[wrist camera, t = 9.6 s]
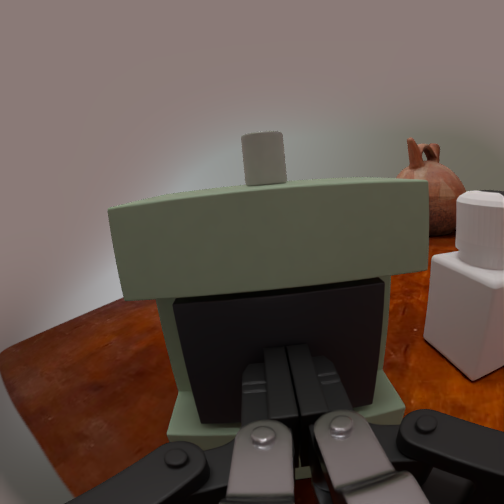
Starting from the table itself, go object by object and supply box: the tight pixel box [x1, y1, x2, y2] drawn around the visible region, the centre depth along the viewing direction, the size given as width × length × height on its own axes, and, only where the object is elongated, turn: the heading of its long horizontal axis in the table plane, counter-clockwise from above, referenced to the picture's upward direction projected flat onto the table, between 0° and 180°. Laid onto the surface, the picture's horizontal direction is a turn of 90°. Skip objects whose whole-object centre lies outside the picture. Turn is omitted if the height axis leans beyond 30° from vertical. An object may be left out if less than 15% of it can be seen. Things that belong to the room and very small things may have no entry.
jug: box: [396, 137, 466, 236], centre depth 58 cm, size 18×18×20 cm
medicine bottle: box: [423, 190, 504, 381], centre depth 17 cm, size 7×7×12 cm
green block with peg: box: [108, 131, 429, 479], centre depth 13 cm, size 10×7×15 cm
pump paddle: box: [172, 277, 385, 424], centre depth 11 cm, size 7×1×5 cm, turn 91°
